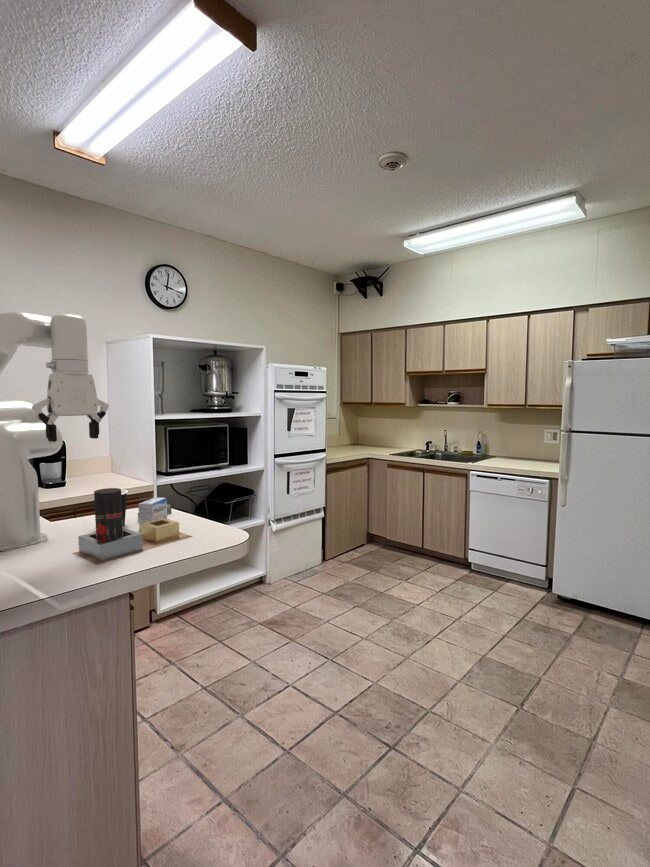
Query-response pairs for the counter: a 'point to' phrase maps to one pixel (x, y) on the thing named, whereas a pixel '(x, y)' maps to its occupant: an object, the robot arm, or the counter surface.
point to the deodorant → (108, 514)
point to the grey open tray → (110, 545)
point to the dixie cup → (123, 504)
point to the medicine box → (152, 510)
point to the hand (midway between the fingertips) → (73, 439)
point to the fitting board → (146, 546)
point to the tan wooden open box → (160, 530)
